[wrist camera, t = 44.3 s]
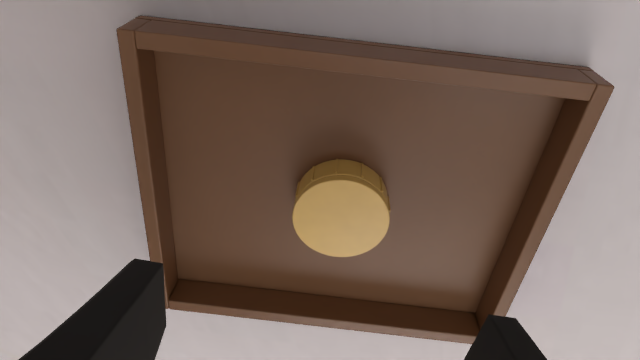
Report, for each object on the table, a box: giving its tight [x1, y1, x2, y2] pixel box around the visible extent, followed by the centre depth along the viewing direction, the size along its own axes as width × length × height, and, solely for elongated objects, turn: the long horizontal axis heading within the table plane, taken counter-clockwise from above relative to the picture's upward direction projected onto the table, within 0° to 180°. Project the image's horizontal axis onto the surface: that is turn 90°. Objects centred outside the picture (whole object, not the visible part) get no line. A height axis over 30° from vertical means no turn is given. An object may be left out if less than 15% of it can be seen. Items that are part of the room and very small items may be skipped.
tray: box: [117, 16, 614, 344], centre depth 19 cm, size 16×13×2 cm
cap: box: [292, 159, 391, 257], centre depth 19 cm, size 4×4×2 cm
